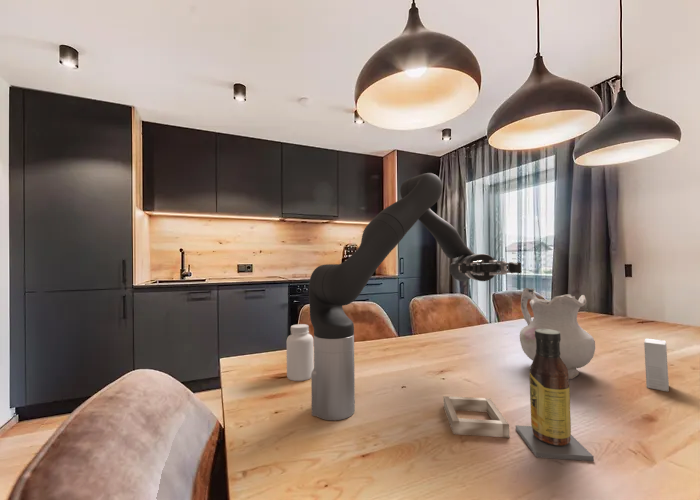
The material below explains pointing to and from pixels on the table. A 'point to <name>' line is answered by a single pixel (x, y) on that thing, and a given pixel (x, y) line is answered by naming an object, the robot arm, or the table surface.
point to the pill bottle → (300, 353)
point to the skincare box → (656, 364)
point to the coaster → (554, 447)
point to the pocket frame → (475, 426)
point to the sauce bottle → (549, 391)
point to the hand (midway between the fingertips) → (497, 268)
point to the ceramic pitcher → (558, 328)
